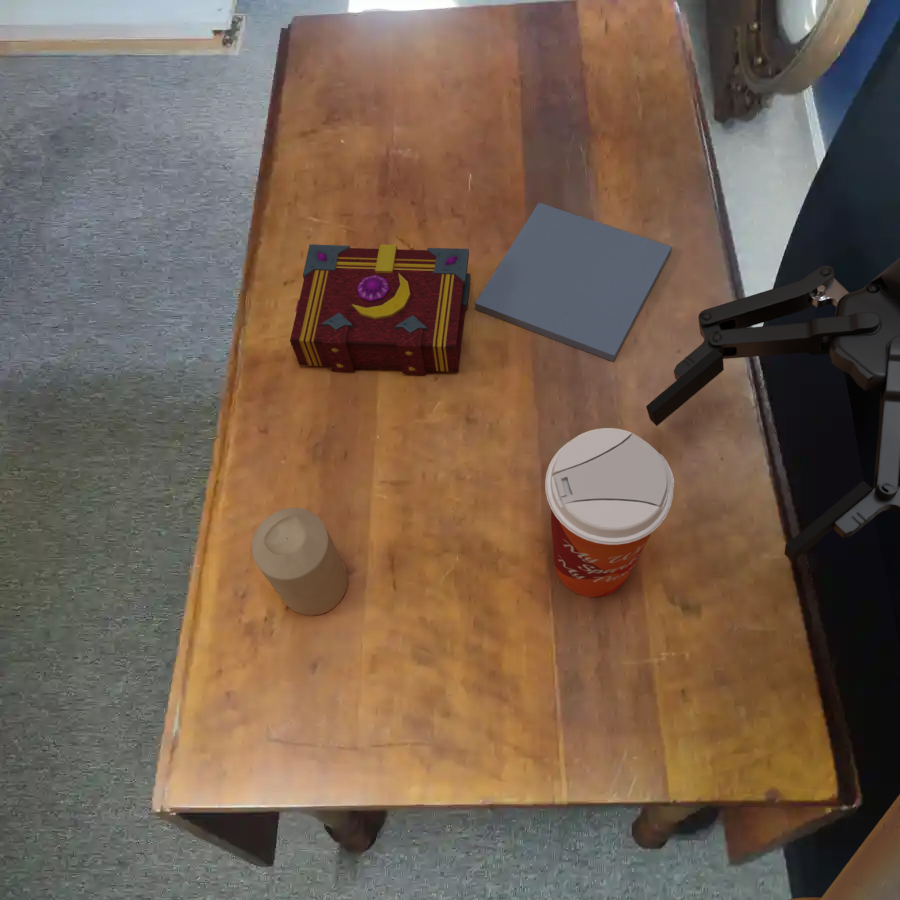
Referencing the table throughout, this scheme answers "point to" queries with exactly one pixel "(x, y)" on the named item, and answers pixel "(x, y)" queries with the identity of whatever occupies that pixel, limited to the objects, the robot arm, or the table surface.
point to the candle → (300, 561)
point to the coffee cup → (604, 507)
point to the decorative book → (382, 308)
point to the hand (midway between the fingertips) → (716, 481)
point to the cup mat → (574, 280)
